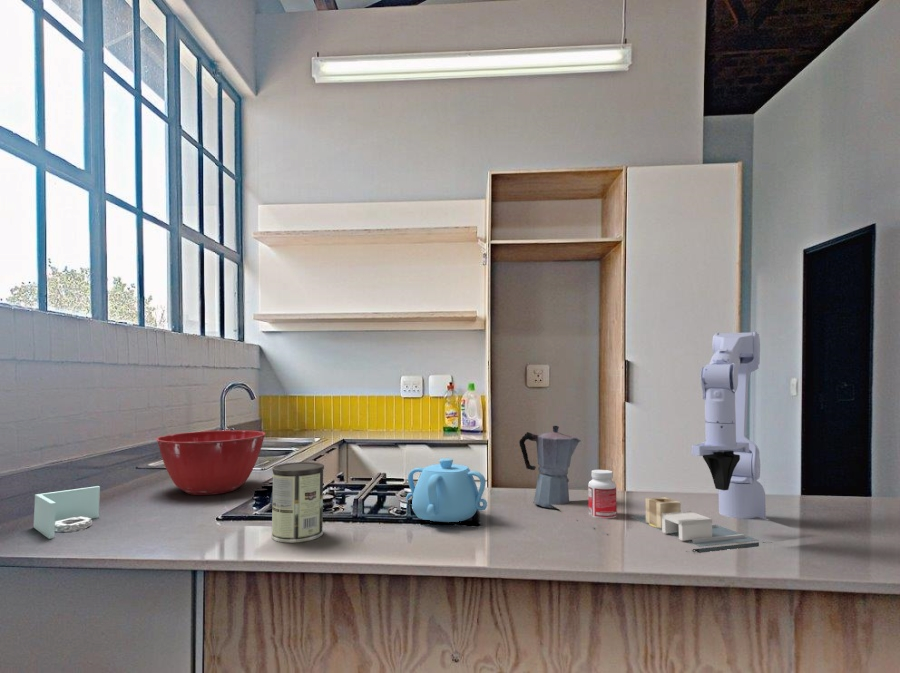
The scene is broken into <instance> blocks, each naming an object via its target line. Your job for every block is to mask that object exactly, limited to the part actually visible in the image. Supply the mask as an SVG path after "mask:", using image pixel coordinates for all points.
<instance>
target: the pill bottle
mask: <svg viewBox="0 0 900 673" xmlns="http://www.w3.org/2000/svg"><path fill="white" fill-rule="evenodd" d="M613 473H614V472H613V471H612V470H607V469H593V470H591V478H592V479H591V480H590V481H589V482H588V485H587V486H588V491H587V492H588V516H590V517H592V518H596V519H601V520H603V519H608V520H610V519H615V518H617V517H618V516H617V515H618V514H617V513H618V512H617V511H618V509H617V508H618V507H617V485H616V482H615V481H614V480H612V479H613V476H614V474H613Z"/></svg>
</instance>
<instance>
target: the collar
mask: <svg viewBox="0 0 900 673" xmlns="http://www.w3.org/2000/svg"><path fill="white" fill-rule="evenodd" d="M644 499H645V515H646V522H647V523H649V524H652V525H654V526H657V527H659V528H662V514H665V513H677V512H682V508H681V503H682V502H680V501H678V500H675V499H672V498H668V497H666V496H663V497H648V498H644Z"/></svg>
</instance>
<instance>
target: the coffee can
mask: <svg viewBox="0 0 900 673" xmlns="http://www.w3.org/2000/svg"><path fill="white" fill-rule="evenodd" d="M324 469H325V465H324V464H323V463H320V462H315V461H314V462H311V461H302V462H301V461H299V462H298V461H297V462H286V463H281V464H277V465H273V466H272V470H271V471H272V504H271V505H272V506H271V507H272V510H271V511H272V513H271V515H272V516H271V517H272V518H271V520H272V521H271V539H272V540H274V541H275V542H279V543H291V544H292V543H303V542H309V541H313V540H317V539H318V538H320V537H322V536H323V534H324V532H323V525H324V524H323V520H324V519H323V518H324V517H323V514H324V512H323V511H324V508H323V507H324V506H323V505H324V503H323V502H324V501H323V500H324Z"/></svg>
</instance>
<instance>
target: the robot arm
mask: <svg viewBox="0 0 900 673" xmlns="http://www.w3.org/2000/svg"><path fill="white" fill-rule="evenodd" d="M711 347H712V354H713V355H712V356H711V359H710V361H709V363H707V364H705V366H701V370H700V385H701V391H702V399H703V400H704V427H705V428H704V430H705V432H704V433H705V434H704V435H705V437H704V438H705V440H704V441H702V442H701V443H698V444H692V445H691V456H697V457H702V459H703V461H704V462H705V463H706V465H707V466H708V469H709V471H710V473H711V477H712V481H713V483H714V487H715V489H716V490H718V513H719V514H720V515H721V516H723V517H728V518H733V519H739V520H743V519H744V520H749V519H755V518H760V519H762V520H766V521H769V520H770V519H768V518H767V513H766V512H767V510H766V509H767V508H766V491H765V488H764V486H763V484H761V482H759V481H758V480H759V479H760V477H761V457H760V456H761V455H760V453H761V452H760V450H759V447H758V446H757V445H756V444H755V443H754V442H753V441H751V440H750V439H749V438H747V434H748V432H747V430H748V429H747V428H748V400H749V399H748V398H749V397H748V396H749V380H750V377H751V373H753V372H755V371H756V370H758V369H759V366H760V356H761V338H760V334H759V333H758V332H757V331H751V332H727V333H726V332H724V333H723V332H722V333H720V332H716V333H714V335H713V336H712V346H711Z"/></svg>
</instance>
